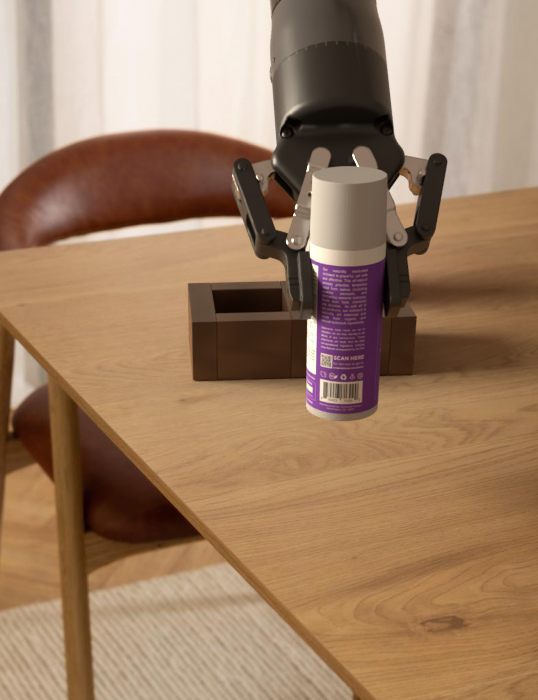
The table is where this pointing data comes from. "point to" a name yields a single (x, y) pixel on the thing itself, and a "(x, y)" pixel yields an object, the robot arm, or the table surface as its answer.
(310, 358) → the container
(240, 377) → the holder
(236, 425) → the table surface
